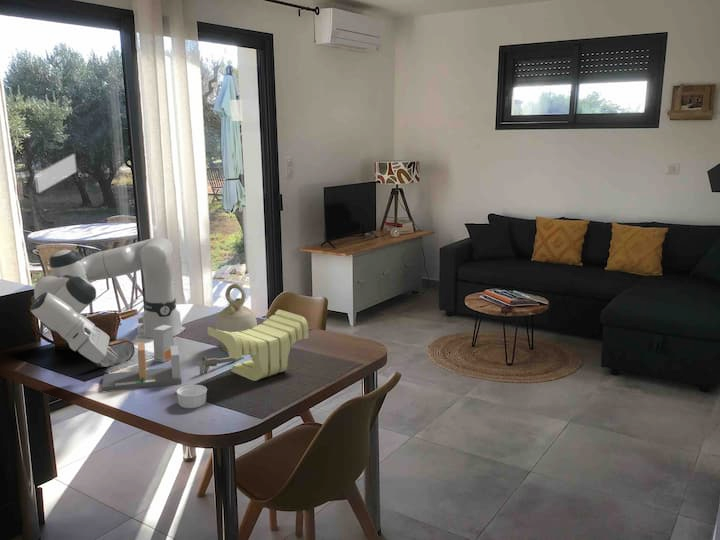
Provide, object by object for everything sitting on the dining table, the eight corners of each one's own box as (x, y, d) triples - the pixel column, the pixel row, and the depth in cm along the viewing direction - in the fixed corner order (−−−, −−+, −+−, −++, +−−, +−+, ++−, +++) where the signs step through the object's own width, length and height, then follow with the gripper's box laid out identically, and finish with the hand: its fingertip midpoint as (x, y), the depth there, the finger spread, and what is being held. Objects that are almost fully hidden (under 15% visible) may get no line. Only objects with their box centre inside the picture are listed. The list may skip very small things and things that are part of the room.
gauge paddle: (139, 382, 197) (137, 352, 195) (139, 371, 207) (138, 342, 205) (146, 382, 198) (144, 352, 196) (146, 371, 207) (144, 342, 205)
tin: (131, 357, 226) (130, 335, 224) (136, 359, 224) (135, 337, 222) (93, 369, 214) (91, 346, 212) (98, 371, 212) (96, 347, 210)
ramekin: (198, 395, 193) (197, 382, 192) (213, 403, 187) (212, 390, 186) (171, 403, 187) (171, 389, 186) (186, 412, 181) (185, 398, 180)
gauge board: (101, 391, 194) (99, 363, 193) (104, 378, 206) (102, 350, 204) (181, 383, 202) (180, 355, 200) (179, 370, 213) (178, 344, 211)
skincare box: (164, 362, 221) (162, 330, 218) (154, 361, 222) (152, 329, 220) (174, 357, 226) (172, 325, 224) (164, 355, 228) (163, 324, 225)
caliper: (202, 376, 209) (201, 358, 208) (199, 375, 210) (199, 357, 208) (244, 359, 226) (243, 342, 225) (242, 358, 226) (241, 342, 225)
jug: (233, 339, 247) (230, 278, 242) (265, 345, 240) (264, 282, 235) (208, 350, 234) (205, 286, 228) (241, 357, 227) (239, 290, 222)
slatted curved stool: (238, 390, 196) (236, 336, 193) (209, 377, 207) (207, 326, 203) (308, 366, 218) (308, 317, 214) (279, 356, 228) (278, 309, 225)
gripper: (77, 330, 204) (111, 355, 209) (69, 350, 185) (107, 377, 190) (91, 316, 204) (124, 341, 209) (84, 334, 185) (121, 362, 190)
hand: (116, 359), depth 199 cm, fingers closed
